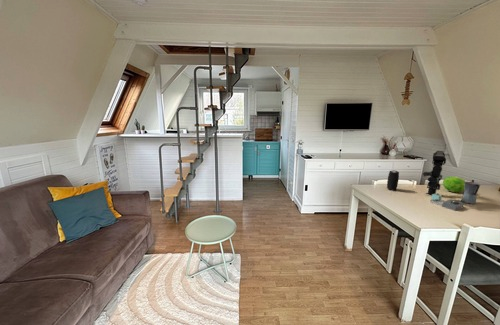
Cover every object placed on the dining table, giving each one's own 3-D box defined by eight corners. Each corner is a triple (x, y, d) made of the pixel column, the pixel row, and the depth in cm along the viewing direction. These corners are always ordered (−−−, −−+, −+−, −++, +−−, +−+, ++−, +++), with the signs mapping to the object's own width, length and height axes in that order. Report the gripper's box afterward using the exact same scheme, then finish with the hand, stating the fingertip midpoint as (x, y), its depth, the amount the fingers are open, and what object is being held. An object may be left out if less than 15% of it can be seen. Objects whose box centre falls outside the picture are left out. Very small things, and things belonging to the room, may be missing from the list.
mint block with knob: (434, 198, 183) (435, 192, 182) (441, 200, 179) (442, 194, 177) (431, 199, 181) (432, 193, 180) (438, 201, 177) (439, 194, 175)
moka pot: (470, 199, 180) (475, 178, 176) (482, 206, 166) (488, 183, 162) (456, 198, 183) (461, 177, 179) (467, 205, 169) (473, 182, 165)
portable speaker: (390, 187, 213) (393, 169, 209) (399, 190, 204) (402, 172, 200) (384, 188, 211) (386, 170, 206) (392, 191, 202) (395, 172, 198)
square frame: (436, 200, 179) (437, 194, 178) (462, 207, 164) (463, 201, 163) (428, 202, 174) (430, 196, 173) (455, 210, 159) (456, 203, 158)
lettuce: (468, 194, 198) (475, 180, 194) (455, 195, 192) (462, 180, 188) (448, 187, 214) (454, 174, 209) (436, 187, 207) (441, 174, 203)
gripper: (427, 166, 186) (424, 182, 190) (421, 169, 175) (418, 186, 179) (444, 168, 178) (440, 185, 181) (438, 172, 167) (435, 190, 170)
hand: (433, 186), depth 178 cm, fingers open, 9 cm apart
